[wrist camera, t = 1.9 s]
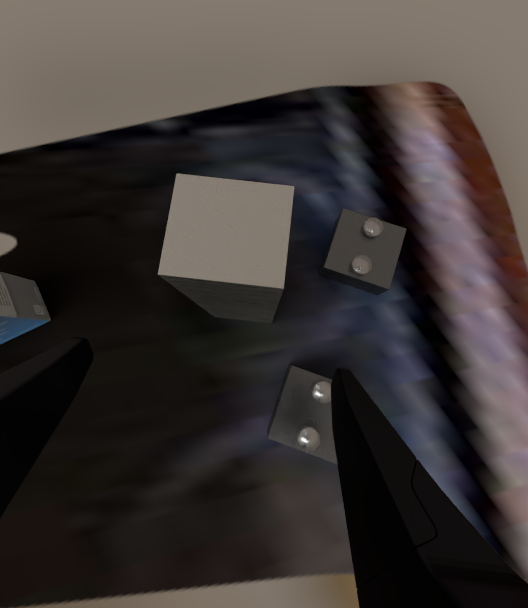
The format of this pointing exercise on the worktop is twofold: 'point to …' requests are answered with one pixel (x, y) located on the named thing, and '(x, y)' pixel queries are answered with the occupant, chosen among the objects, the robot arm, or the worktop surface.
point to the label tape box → (20, 307)
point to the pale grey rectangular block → (228, 245)
